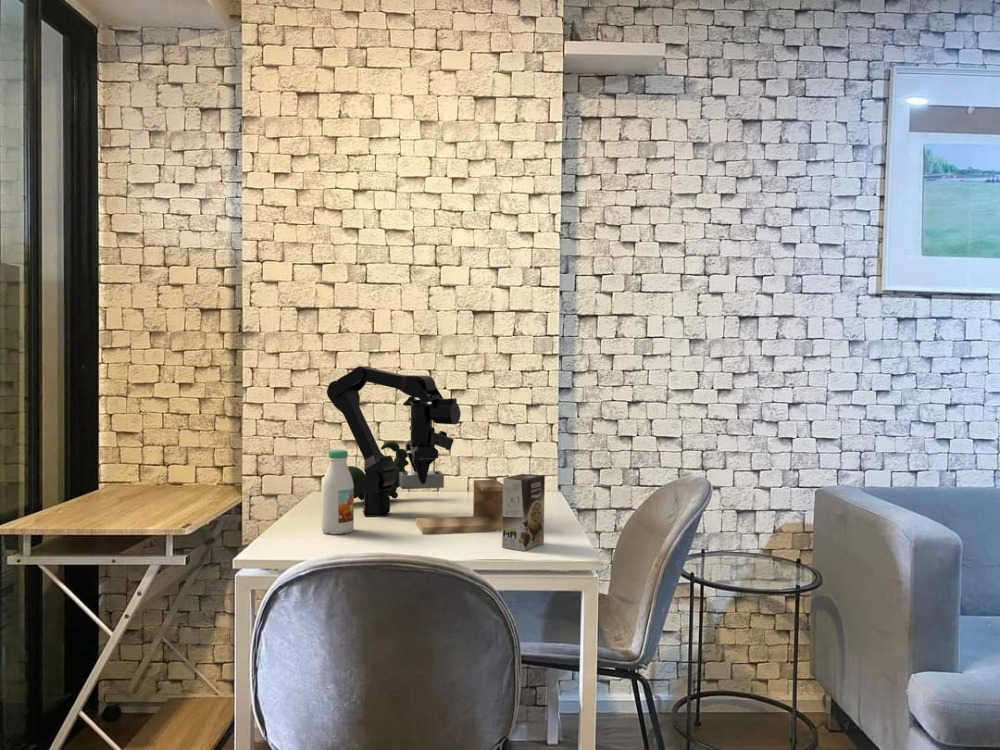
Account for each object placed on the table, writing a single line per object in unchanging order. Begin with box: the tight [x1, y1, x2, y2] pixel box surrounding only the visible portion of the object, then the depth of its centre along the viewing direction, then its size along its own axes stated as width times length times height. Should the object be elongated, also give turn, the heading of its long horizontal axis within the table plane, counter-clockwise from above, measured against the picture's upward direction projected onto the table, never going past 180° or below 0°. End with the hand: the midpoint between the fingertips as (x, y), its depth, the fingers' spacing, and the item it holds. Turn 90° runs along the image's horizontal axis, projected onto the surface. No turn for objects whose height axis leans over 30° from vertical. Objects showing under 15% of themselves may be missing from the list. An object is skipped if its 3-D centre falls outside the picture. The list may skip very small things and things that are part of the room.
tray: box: [399, 470, 445, 490], centre depth 209 cm, size 11×6×4 cm, turn 104°
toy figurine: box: [347, 440, 410, 501], centre depth 231 cm, size 9×19×25 cm
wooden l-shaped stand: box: [415, 479, 503, 535], centre depth 200 cm, size 21×11×11 cm, turn 104°
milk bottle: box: [321, 449, 355, 535], centre depth 193 cm, size 8×8×20 cm
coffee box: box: [501, 473, 546, 552], centre depth 181 cm, size 9×6×16 cm
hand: (421, 481), depth 209 cm, fingers closed on tray, 6 cm apart
